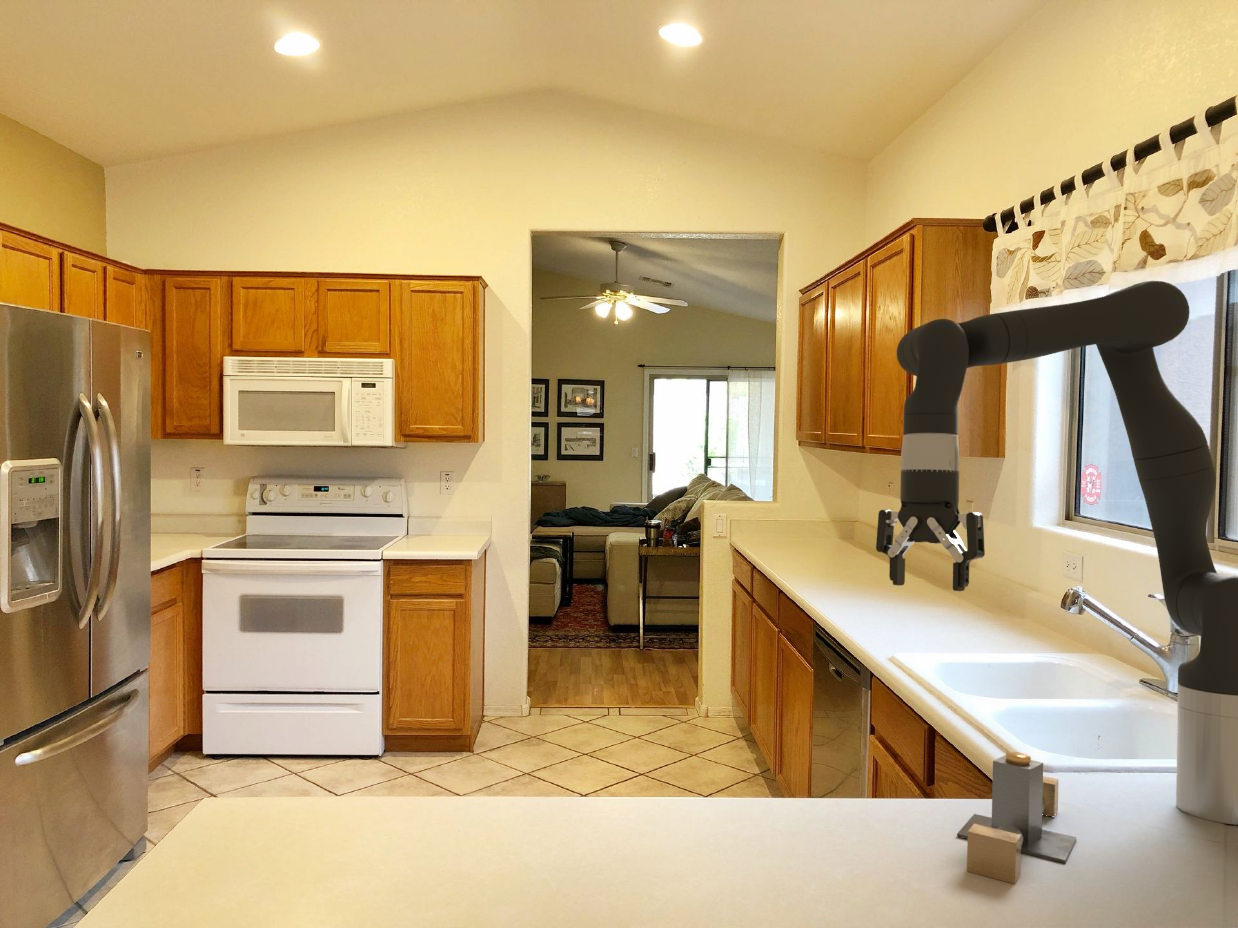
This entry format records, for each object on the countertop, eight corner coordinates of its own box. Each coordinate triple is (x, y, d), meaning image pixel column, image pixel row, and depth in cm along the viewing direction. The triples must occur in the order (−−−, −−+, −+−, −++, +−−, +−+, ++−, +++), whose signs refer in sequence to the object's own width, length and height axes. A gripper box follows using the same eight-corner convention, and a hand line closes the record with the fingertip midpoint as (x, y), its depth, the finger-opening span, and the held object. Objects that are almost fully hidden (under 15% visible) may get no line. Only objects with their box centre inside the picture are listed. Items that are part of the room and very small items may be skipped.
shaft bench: (991, 797, 122) (991, 765, 122) (1086, 818, 115) (1087, 784, 115) (934, 862, 98) (935, 823, 99) (1050, 893, 92) (1051, 851, 92)
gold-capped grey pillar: (991, 833, 107) (993, 754, 107) (1005, 825, 110) (1007, 747, 110) (1028, 845, 104) (1029, 762, 104) (1041, 836, 107) (1043, 756, 107)
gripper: (993, 469, 115) (992, 591, 114) (894, 470, 125) (892, 582, 125) (969, 466, 110) (967, 594, 109) (868, 467, 120) (866, 584, 119)
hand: (927, 587), depth 117 cm, fingers open, 8 cm apart
